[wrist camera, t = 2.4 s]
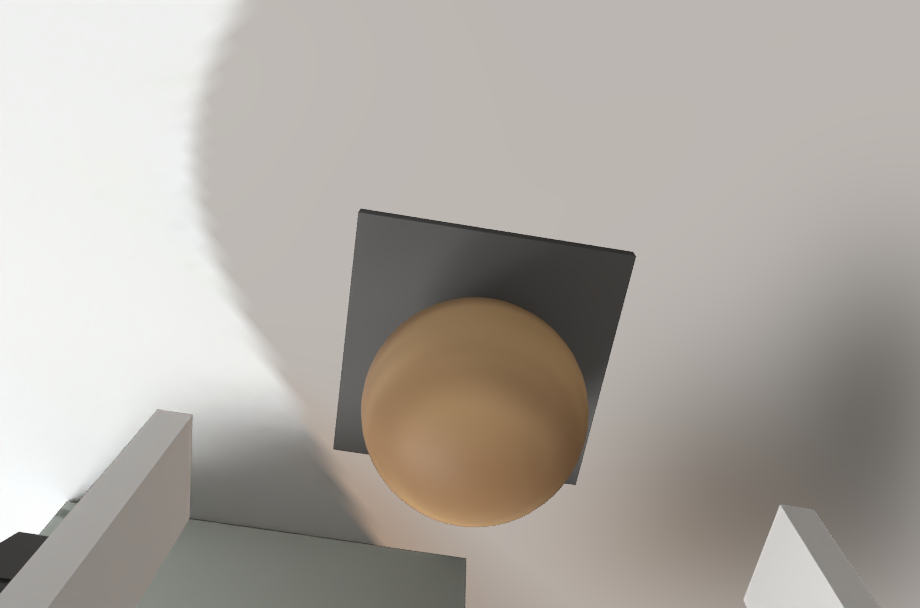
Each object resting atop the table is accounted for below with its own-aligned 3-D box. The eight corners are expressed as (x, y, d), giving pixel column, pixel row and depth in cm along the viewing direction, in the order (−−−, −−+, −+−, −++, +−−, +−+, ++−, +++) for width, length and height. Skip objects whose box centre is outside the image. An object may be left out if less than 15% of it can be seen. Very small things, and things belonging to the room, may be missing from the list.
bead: (389, 251, 21) (356, 339, 15) (593, 283, 21) (634, 382, 15) (367, 427, 23) (331, 561, 17) (551, 455, 23) (574, 595, 18)
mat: (360, 208, 21) (358, 212, 20) (633, 252, 21) (636, 256, 21) (335, 442, 24) (333, 449, 23) (574, 477, 24) (575, 485, 24)
